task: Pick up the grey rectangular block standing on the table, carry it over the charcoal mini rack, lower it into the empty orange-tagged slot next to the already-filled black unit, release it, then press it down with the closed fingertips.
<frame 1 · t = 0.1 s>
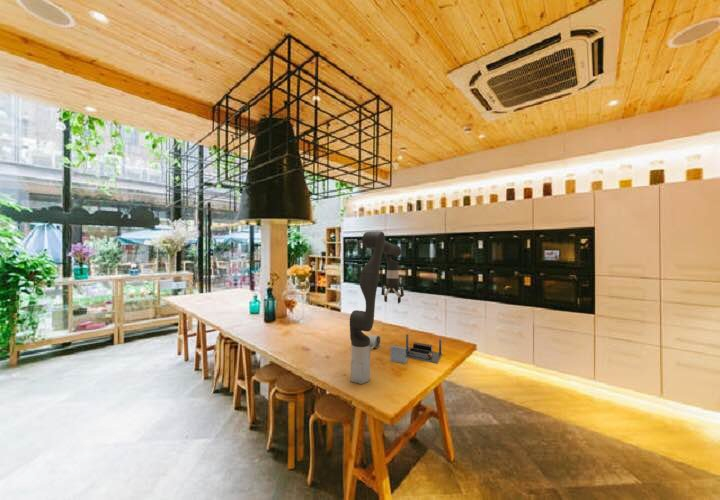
hand: (392, 302, 171), 29 cm above the table, fingers open, 8 cm apart
rack: (420, 355, 160), on the table
grey rectangular block: (398, 361, 151), on the table
ceramic mug: (371, 347, 172), on the table
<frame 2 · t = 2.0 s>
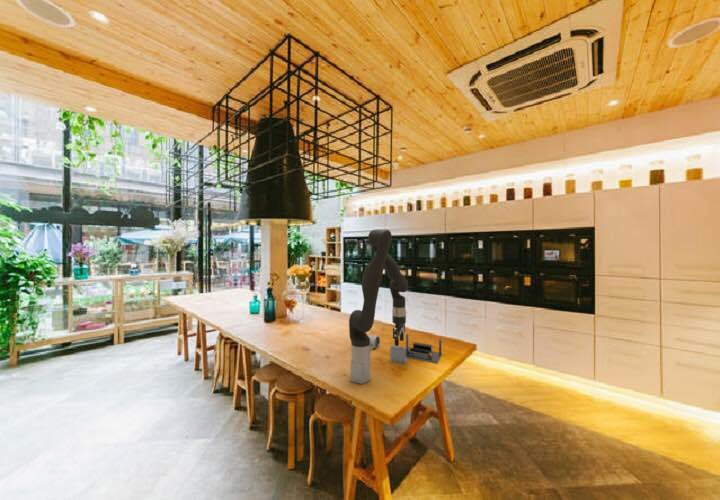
hand: (399, 342, 151), 10 cm above the table, fingers open, 8 cm apart
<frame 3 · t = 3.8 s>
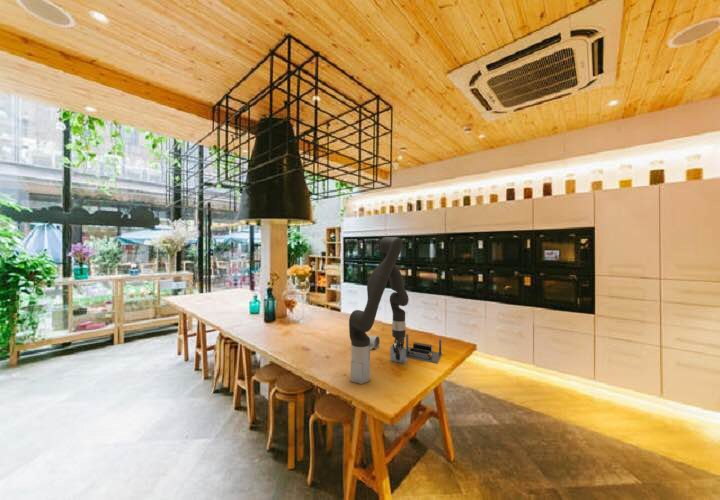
hand: (398, 358, 151), 2 cm above the table, fingers closed on grey rectangular block, 3 cm apart
grey rectangular block: (398, 361, 151), on the table, touching gripper
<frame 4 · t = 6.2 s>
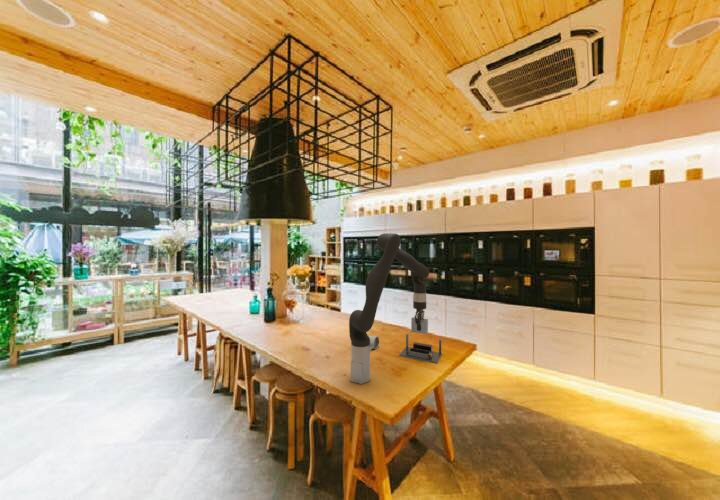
hand: (419, 329, 157), 16 cm above the table, fingers closed on grey rectangular block, 3 cm apart
grey rectangular block: (419, 332, 157), point 15 cm above the table, touching gripper
when the fingers open (4 cm above the table, at t = 8.4 s): grey rectangular block drops 1 cm, resting on rack.
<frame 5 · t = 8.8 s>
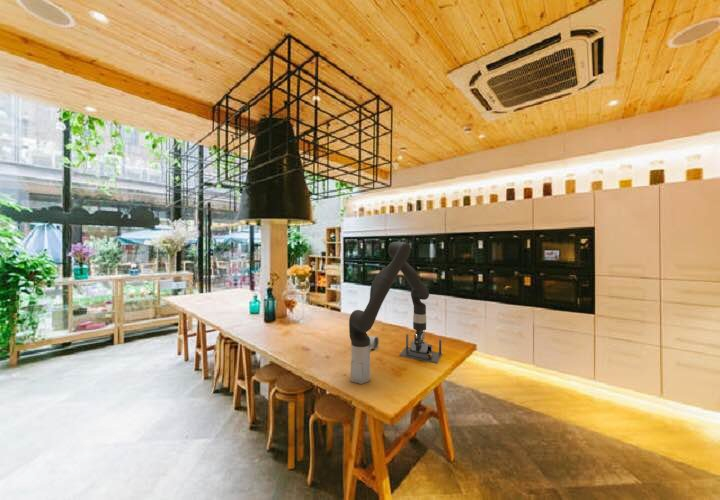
hand: (419, 349, 157), 5 cm above the table, fingers open, 6 cm apart
grey rectangular block: (419, 355, 157), point 1 cm above the table, touching rack
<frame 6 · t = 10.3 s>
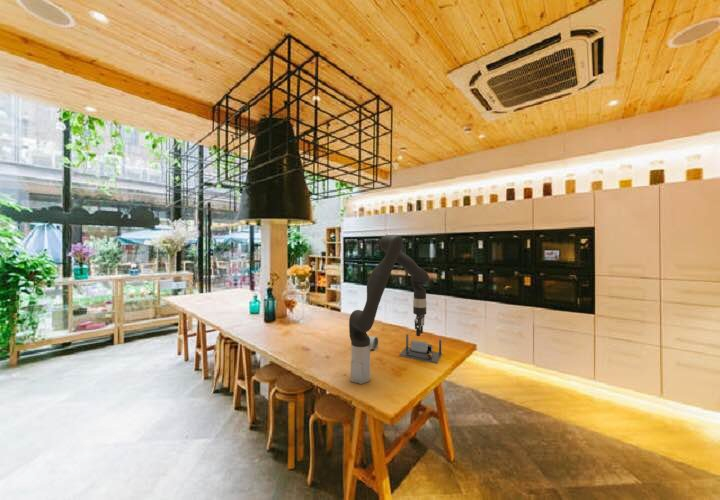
hand: (419, 334, 157), 13 cm above the table, fingers open, 5 cm apart
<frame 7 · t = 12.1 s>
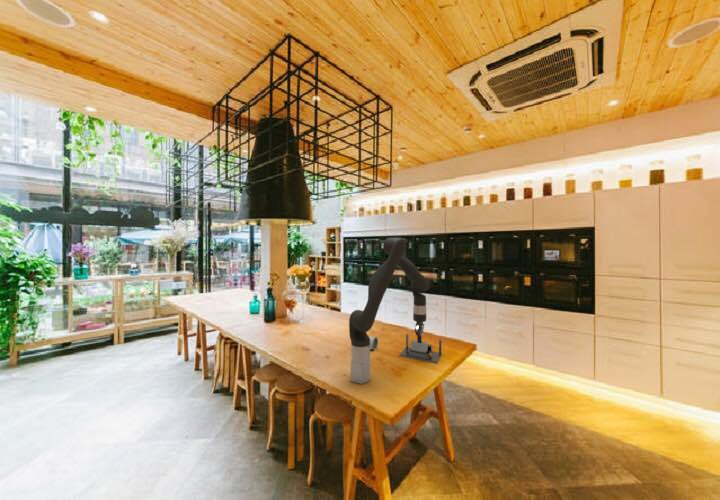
hand: (419, 341, 157), 9 cm above the table, fingers closed
grey rectangular block: (419, 355, 157), point 1 cm above the table, touching gripper, rack
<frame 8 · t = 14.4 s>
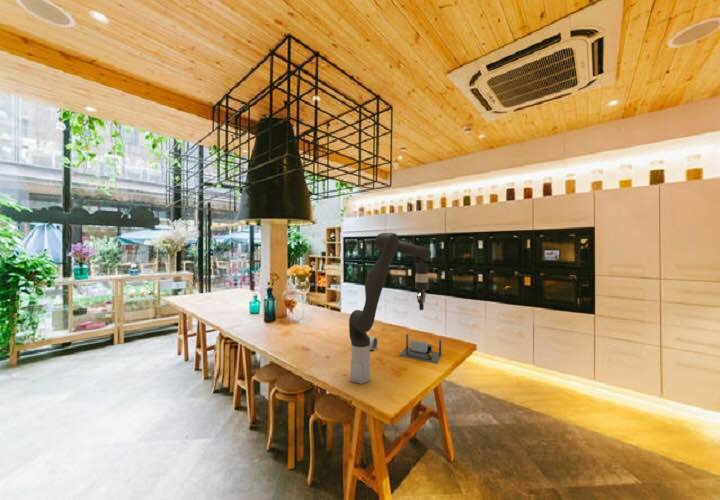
hand: (421, 309, 160), 27 cm above the table, fingers closed
grey rectangular block: (419, 355, 157), point 1 cm above the table, touching rack
at the end: grey rectangular block 0.3 cm from the target spot on the rack, point 1.0 cm above the rack's base; grey rectangular block tilted 0°; the gripper is holding nothing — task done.
